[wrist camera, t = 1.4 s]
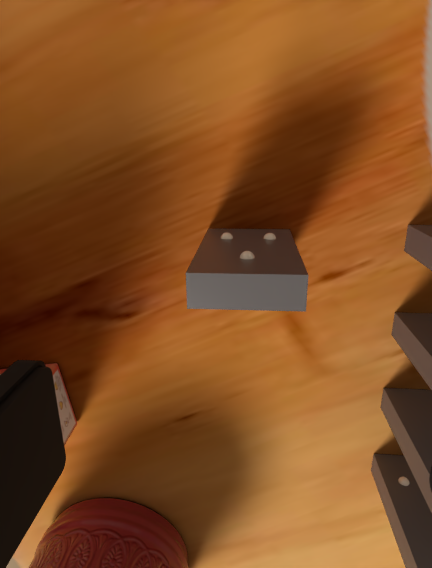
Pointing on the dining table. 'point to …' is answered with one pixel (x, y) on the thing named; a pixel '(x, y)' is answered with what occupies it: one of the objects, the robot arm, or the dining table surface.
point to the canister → (110, 538)
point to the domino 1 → (247, 271)
